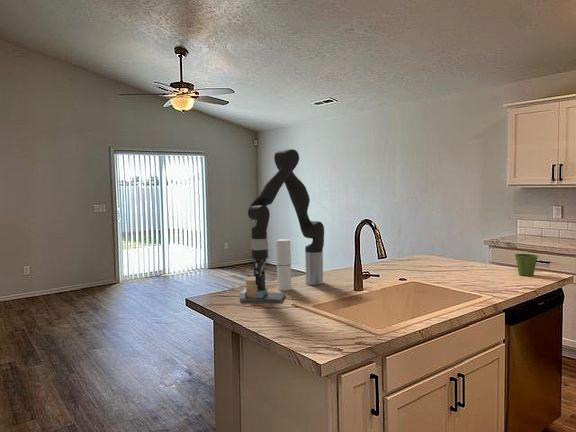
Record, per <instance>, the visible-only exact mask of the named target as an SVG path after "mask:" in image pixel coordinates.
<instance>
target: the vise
mask: <svg viewBox="0 0 576 432" xmlns="http://www.w3.org/2000/svg"><path fill="white" fill-rule="evenodd" d="M285 298H286V293H285V292H270V291H269V292H268V291H267V293H266V294H265V295H264V297H263V298H252V297H247V295H246V287H244V289H243V290H242V291H240V292H239V302H240V303H270V304H271V303H274V304H275V303H277V304H281V303H282V302H283V300H285Z"/></svg>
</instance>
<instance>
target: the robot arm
mask: <svg viewBox="0 0 576 432" xmlns="http://www.w3.org/2000/svg"><path fill="white" fill-rule="evenodd" d="M273 156H274V164H275V166H276V168H277V170H278V171H277V172H276V173H275V174H274V175H273V176H272V177H271V178H270V179H269V180H268V181H267V182H266V183H265V185H264V186H263V188H262V190H261V191H260V193H259V195H258V196H257V197H256V198H255V200H254V201H253V202H252V203H250V205H249V207H248V209H247V210H248V211H247V215H248V218H249V219H250V220H252V221H256V225H253V226H252V227H251V242H250V243H251V245H250V246H251V250H250V251H251V258H252V260H255V262H254V263H253V277H256V285H260V284H261V274H265V275H266V271H267V261H266V260H267V259H268V258H269V249H268V247H269V246H268V234H267V233H268V232H267V231H268V230H267V229H268V226H269V222H270V221H269V220H270V215H271V214H270V209H269V207H268V206H269V205H271V204H273V203H274V200H275V199H276V197H277V195H278V194H279V191H280V189H281V188H282V186H283V185H284V184H285V187H286V190H287V192H288V194H289V195H288V196H289V198H290V201H291V203H292V206H293V207H294V211H295V213H296V217H297V220H298V224H299V227H300V231H301V233H302V236H303V237H304V238H306V239H312V242H311V243H310V244H308V245H305V246H304V247H305V249H304V252H305V253H304V255H305V285H309V286H320V285H323V284H324V256H323V255H324V251H323V250H324V245H325V226H324V224H323V222H321V221H319V220H318V221H317V220H311V219H310V217H309V214H308V209H309V206H310V201H311V199H310V195H309V193H308V189H307V187H306V185H304V183H303V182H302V181H301V180H300V179H299V178H298V176H297V175H296V174H295V173H294V172H293V171H294V170H295V168H296V167H297V166H298V165H299V161H300V154H299V152H298V151H297V150H296V149H292V148H289V149H288V148H286V149H285V148H283V149H277V150H276V151H275V153H274V155H273Z"/></svg>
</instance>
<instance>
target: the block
mask: <svg viewBox="0 0 576 432" xmlns="http://www.w3.org/2000/svg"><path fill="white" fill-rule="evenodd" d="M245 288H246V295H247V297H252V298H257V292H258V291H259V285H256V277H255V276H249V277H248V278H247V279H246V280H245Z"/></svg>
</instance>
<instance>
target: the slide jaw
mask: <svg viewBox="0 0 576 432" xmlns="http://www.w3.org/2000/svg"><path fill="white" fill-rule="evenodd" d="M267 292H268V286H266V273H265V274H261V284H260V285H259V291H258V292H257V298H263V297H264V295H265V294H266V293H267Z"/></svg>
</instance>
